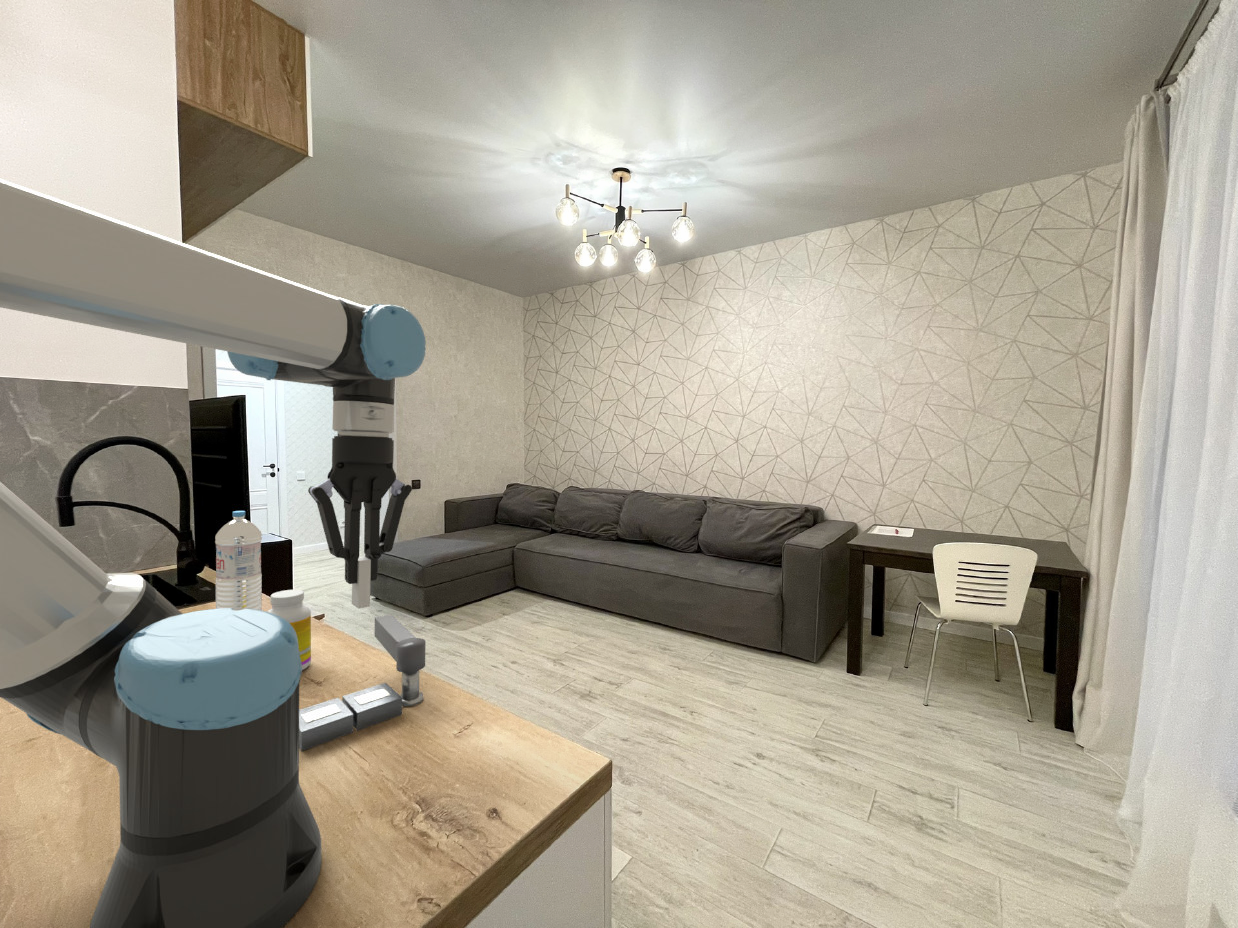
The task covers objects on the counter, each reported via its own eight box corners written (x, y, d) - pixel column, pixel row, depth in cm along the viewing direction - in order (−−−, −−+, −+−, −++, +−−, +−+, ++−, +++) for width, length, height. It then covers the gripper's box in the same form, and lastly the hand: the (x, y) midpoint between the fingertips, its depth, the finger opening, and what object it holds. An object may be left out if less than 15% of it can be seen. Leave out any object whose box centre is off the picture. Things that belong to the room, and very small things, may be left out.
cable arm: (370, 637, 86) (370, 617, 85) (395, 632, 88) (395, 612, 88) (401, 675, 73) (401, 650, 72) (429, 667, 75) (429, 644, 75)
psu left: (301, 751, 63) (301, 731, 63) (289, 731, 67) (289, 712, 67) (353, 732, 67) (353, 713, 67) (338, 714, 71) (338, 696, 71)
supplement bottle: (320, 661, 88) (320, 588, 87) (291, 679, 81) (291, 600, 81) (284, 658, 88) (284, 586, 88) (253, 676, 82) (253, 598, 81)
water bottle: (222, 640, 95) (221, 509, 94) (265, 635, 98) (265, 508, 97) (210, 654, 89) (209, 514, 88) (257, 649, 92) (257, 513, 91)
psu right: (357, 731, 67) (357, 712, 67) (342, 713, 72) (342, 695, 71) (402, 714, 72) (402, 696, 72) (385, 698, 76) (385, 681, 76)
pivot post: (403, 709, 73) (403, 677, 73) (393, 700, 76) (393, 668, 75) (427, 700, 76) (428, 669, 75) (417, 692, 78) (417, 661, 78)
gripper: (318, 432, 62) (315, 622, 62) (422, 437, 71) (418, 602, 72) (301, 432, 67) (299, 607, 68) (400, 436, 76) (397, 590, 77)
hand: (360, 604), depth 70 cm, fingers closed
